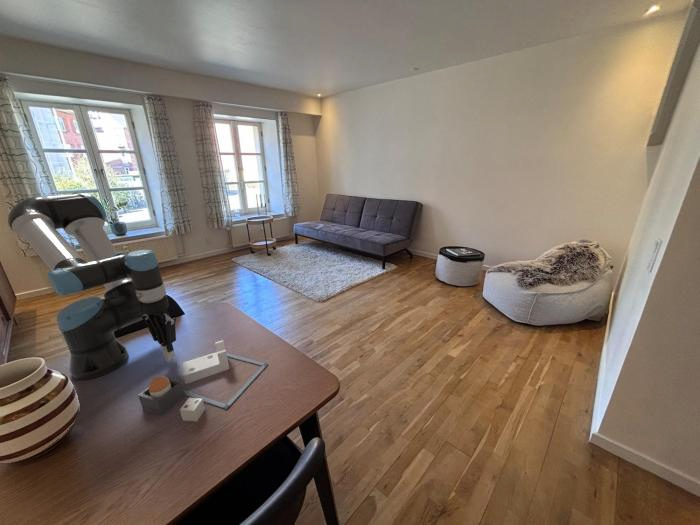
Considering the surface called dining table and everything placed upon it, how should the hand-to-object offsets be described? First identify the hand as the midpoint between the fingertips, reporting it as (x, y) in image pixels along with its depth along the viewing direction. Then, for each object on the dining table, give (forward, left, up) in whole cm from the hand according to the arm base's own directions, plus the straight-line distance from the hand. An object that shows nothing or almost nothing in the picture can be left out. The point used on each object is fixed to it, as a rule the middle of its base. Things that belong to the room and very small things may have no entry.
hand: (170, 358), depth 98 cm
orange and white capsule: (+14, -13, -1) cm, 19 cm away
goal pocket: (+24, 0, -2) cm, 24 cm away
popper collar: (+14, -13, -2) cm, 19 cm away
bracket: (+15, +1, -2) cm, 15 cm away
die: (+26, -14, -2) cm, 29 cm away
